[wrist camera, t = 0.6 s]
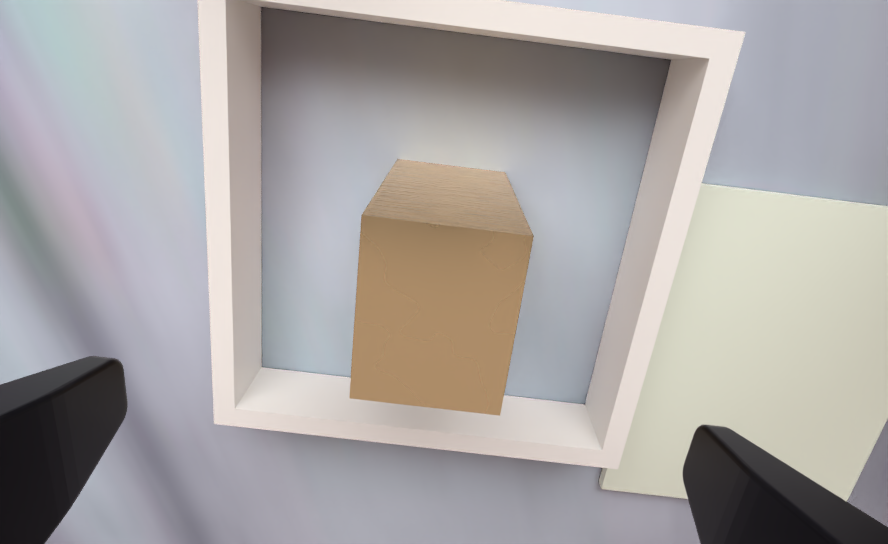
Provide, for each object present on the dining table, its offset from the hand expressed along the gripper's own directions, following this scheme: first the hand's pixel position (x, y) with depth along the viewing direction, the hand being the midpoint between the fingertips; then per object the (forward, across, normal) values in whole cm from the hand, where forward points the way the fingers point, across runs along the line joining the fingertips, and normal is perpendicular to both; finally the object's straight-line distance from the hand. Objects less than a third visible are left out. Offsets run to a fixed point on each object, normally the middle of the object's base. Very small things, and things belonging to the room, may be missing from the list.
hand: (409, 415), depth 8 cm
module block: (+13, 0, +1) cm, 13 cm away
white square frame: (+13, 0, +1) cm, 13 cm away
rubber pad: (+13, -14, +5) cm, 20 cm away
